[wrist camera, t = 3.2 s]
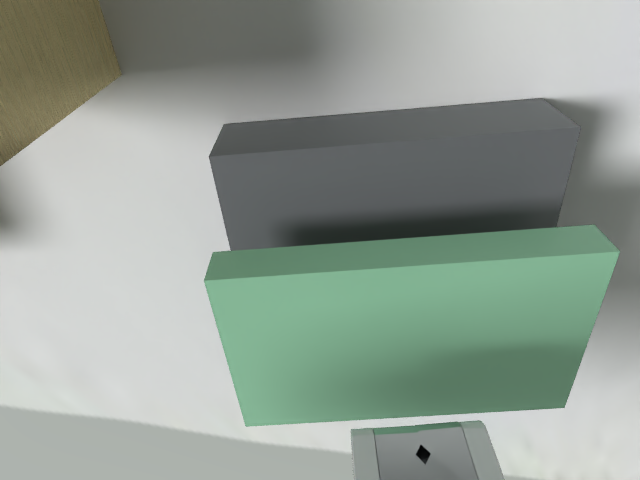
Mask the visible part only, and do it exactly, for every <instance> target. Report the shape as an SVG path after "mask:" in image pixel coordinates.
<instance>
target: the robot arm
mask: <svg viewBox="0 0 640 480" xmlns="http://www.w3.org/2000/svg"><path fill="white" fill-rule="evenodd" d="M351 445H352V460H353V473H354V474H353V475H354V480H505V479H504V476H503V473H502V470H501V468H500V465H499V462H498V459H497V457H496V454H495V451H494V449H493V446H492V443H491V440H490V438H489V435H488V432H487V429H486V427H485V425H484V424H483V423H482V421H467V422H448V423H436V424H424V425H415V426H401V427H385V428H364V429H351Z"/></svg>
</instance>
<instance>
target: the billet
mask: <svg viewBox="0 0 640 480" xmlns="http://www.w3.org/2000/svg"><path fill="white" fill-rule="evenodd" d="M121 75H122V74H121V71H120V68H119V65H118V61H117V58H116V55H115V52H114V49H113V45H112V42H111V39H110V36H109V33H108V30H107V26H106V23H105V20H104V17H103V14H102V10H101V7H100V4H99V1H98V0H0V166H1V165H3V164H4V163H5V162H7V161H8V160H9V159H11V158H12V157H13V156H15V155H16V154H17V153H19V152H20V151H21V150H23V149H24V148H25V147H27V146H28V145H29V144H31V143H32V142H33V141H35V140H36V139H37V138H38V137H40V136H41V135H42V134H44V133H45V132H46V131H48V130H49V129H50V128H52V127H53V126H54V125H56V124H57V123H58V122H60V121H61V120H62V119H64V118H65V117H66V116H68V115H69V114H70V113H72V112H73V111H74V110H76V109H77V108H78V107H80V106H81V105H82V104H84V103H85V102H86V101H88V100H89V99H90V98H92V97H93V96H94V95H96V94H97V93H98V92H100V91H101V90H102V89H104V88H105V87H106V86H108V85H109V84H110V83H112V82H113V81H114V80H116V79H117V78H118V77H120V76H121Z"/></svg>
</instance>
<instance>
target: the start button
mask: <svg viewBox="0 0 640 480" xmlns="http://www.w3.org/2000/svg"><path fill="white" fill-rule="evenodd" d="M619 253H620V251H619V250H618V249H617V248H616V247H615V246H614V245H613V244H612V242H611V241H610V240H609V239H608V238H607V237H606V236H605V235H604V234H603V233H602V232H601V231H600V230H599V229H598V228H597V227H596V226H595V225H582V226H568V227H554V228H540V229H526V230H513V231H499V232H485V233H471V234H457V235H444V236H430V237H416V238H402V239H388V240H374V241H361V242H347V243H333V244H319V245H305V246H292V247H278V248H264V249H250V250H236V251H222V252H213V254H212V257H211V260H210V263H209V266H208V270H207V273H206V276H205V279H204V282H205V286H206V289H207V293H208V296H209V300H210V303H211V307H212V310H213V314H214V317H215V321H216V324H217V328H218V331H219V335H220V338H221V342H222V345H223V349H224V352H225V356H226V359H227V363H228V366H229V370H230V373H231V377H232V380H233V384H234V387H235V391H236V394H237V398H238V401H239V405H240V408H241V412H242V415H243V419H244V422H245V426H246V427H247V426H264V425H281V424H298V423H315V422H332V421H349V420H366V419H383V418H400V417H417V416H434V415H451V414H468V413H485V412H502V411H519V410H536V409H553V408H565V405H566V402H567V399H568V396H569V394H570V391H571V388H572V385H573V382H574V380H575V377H576V374H577V371H578V368H579V366H580V363H581V360H582V357H583V354H584V352H585V349H586V346H587V343H588V340H589V338H590V335H591V332H592V329H593V326H594V324H595V321H596V318H597V315H598V312H599V309H600V307H601V304H602V301H603V298H604V295H605V293H606V290H607V287H608V284H609V281H610V279H611V276H612V273H613V270H614V267H615V265H616V262H617V259H618V256H619Z"/></svg>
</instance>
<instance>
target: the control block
mask: <svg viewBox="0 0 640 480" xmlns="http://www.w3.org/2000/svg"><path fill="white" fill-rule="evenodd" d="M580 130H581V126H579V125H578V124H577V123H575V122H574V121H572V120H571V119H570V118H568V117H567V116H566V115H564V114H563V113H562V112H560V111H559V110H557V109H556V108H555V107H553V106H552V105H551V104H549V103H548V102H547V101H545V100H544V99H542V98H539V99H527V100H514V101H502V102H490V103H478V104H466V105H454V106H441V107H429V108H417V109H405V110H393V111H381V112H368V113H356V114H344V115H332V116H320V117H308V118H295V119H283V120H271V121H259V122H247V123H234V124H224V125H223V127H222V129H221V131H220V134H219V136H218V138H217V140H216V142H215V144H214V146H213V149H212V151H211V153H210V155H209V159H210V164H211V168H212V172H213V177H214V181H215V185H216V189H217V194H218V198H219V202H220V207H221V211H222V215H223V219H224V224H225V228H226V232H227V237H228V241H229V245H230V250H231V251H236V250H250V249H264V248H278V247H292V246H305V245H319V244H333V243H347V242H361V241H374V240H388V239H402V238H416V237H430V236H444V235H457V234H471V233H485V232H499V231H513V230H526V229H540V228H554V227H556V225H557V221H558V217H559V213H560V209H561V205H562V201H563V197H564V193H565V189H566V186H567V182H568V178H569V174H570V170H571V166H572V162H573V158H574V154H575V150H576V146H577V142H578V138H579V134H580Z"/></svg>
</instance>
